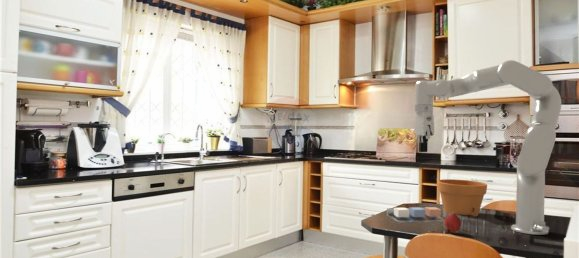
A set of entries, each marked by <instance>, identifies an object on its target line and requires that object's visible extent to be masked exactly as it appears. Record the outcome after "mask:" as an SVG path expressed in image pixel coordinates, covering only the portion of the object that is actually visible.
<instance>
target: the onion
mask: <svg viewBox="0 0 579 258" xmlns="http://www.w3.org/2000/svg"><path fill="white" fill-rule="evenodd" d="M444 219H445V221H444V226H445V228H446V229H447V230H448V231H449V232H450V233H452V234H454V233H456V232H457V231H459V230H460V229H461V227H462V221H461V219H460V217H459V216H458V214H455V213H454V212H451V213H449V214H448V215H447V216H446V217H445V218H444Z"/></svg>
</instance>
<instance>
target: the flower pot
mask: <svg viewBox="0 0 579 258" xmlns="http://www.w3.org/2000/svg"><path fill="white" fill-rule="evenodd" d="M437 190H438V192H439V194H440V197H441V204H442V208H443V211H444V212H445V213H449V214H451V212H454V213H455V215H459V216H460V215H461V216H462V215H464V216H471V217H475V218H476V217H477V216H478V215H479V213H480V210H481V206H482V204H483V200H484V196H485V195H487V190H488V184H487V183H485V182H482V181H477V180H469V179H468V180H467V179H453V178H452V179H451V178H447V179H439V180H437Z"/></svg>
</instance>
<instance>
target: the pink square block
mask: <svg viewBox="0 0 579 258" xmlns="http://www.w3.org/2000/svg"><path fill="white" fill-rule="evenodd" d="M424 208H425V215H428V216H430V217H441V218H442V209H440V208H438V207H437V206H436V207H435V206H434V207H433V206H432V207H431V206H429V207H427V206H426V207H424Z"/></svg>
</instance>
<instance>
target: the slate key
mask: <svg viewBox="0 0 579 258" xmlns="http://www.w3.org/2000/svg"><path fill="white" fill-rule="evenodd" d="M409 208H410V215H411V216H413V217H425V209H423V208H424V207H419V206H415V207H414V206H413V207H412V206H411V207H409Z"/></svg>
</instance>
